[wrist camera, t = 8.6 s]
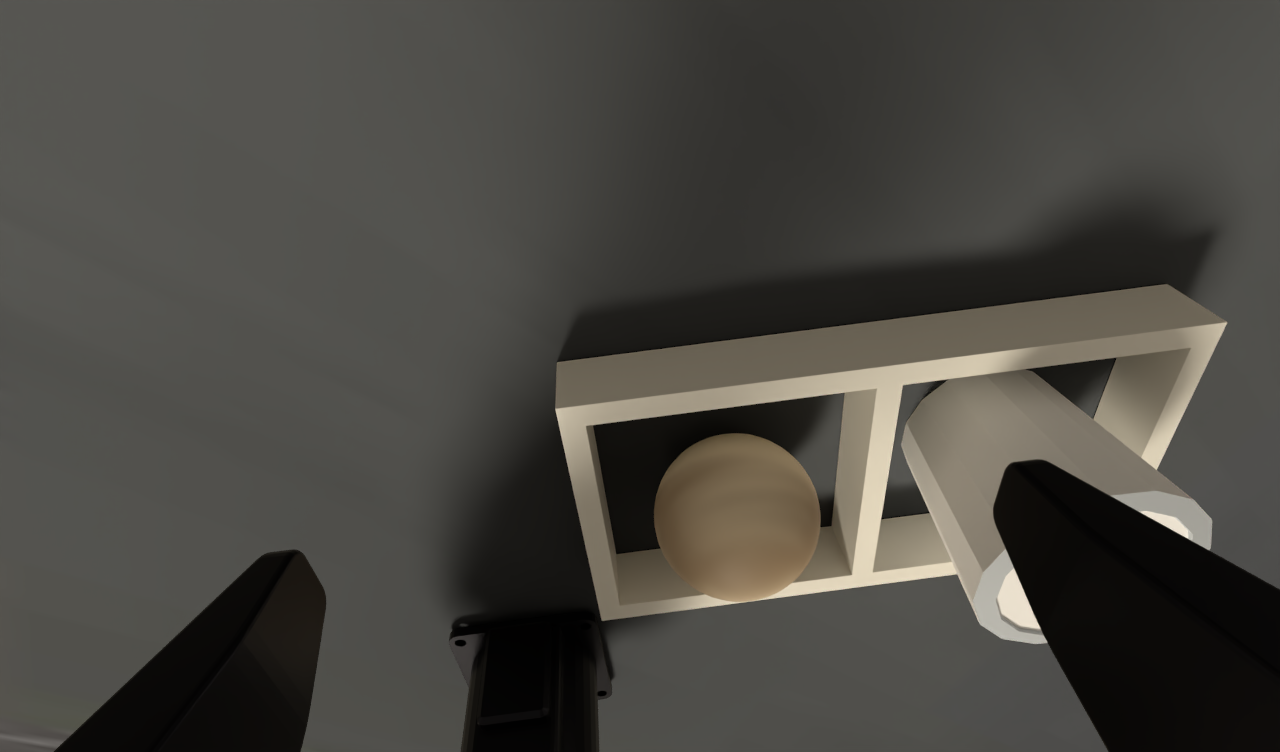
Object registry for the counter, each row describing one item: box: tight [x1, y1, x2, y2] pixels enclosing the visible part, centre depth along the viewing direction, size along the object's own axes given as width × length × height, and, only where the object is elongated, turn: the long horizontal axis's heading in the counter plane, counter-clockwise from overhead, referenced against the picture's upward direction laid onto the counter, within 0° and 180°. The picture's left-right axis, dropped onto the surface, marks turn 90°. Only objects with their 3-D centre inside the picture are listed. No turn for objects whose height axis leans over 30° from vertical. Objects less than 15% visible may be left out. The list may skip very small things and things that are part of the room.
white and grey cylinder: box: [901, 369, 1212, 644], centre depth 22 cm, size 7×7×7 cm
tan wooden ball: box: [654, 433, 821, 602], centre depth 23 cm, size 6×6×6 cm
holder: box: [555, 284, 1227, 621], centre depth 24 cm, size 11×20×2 cm, turn 96°
